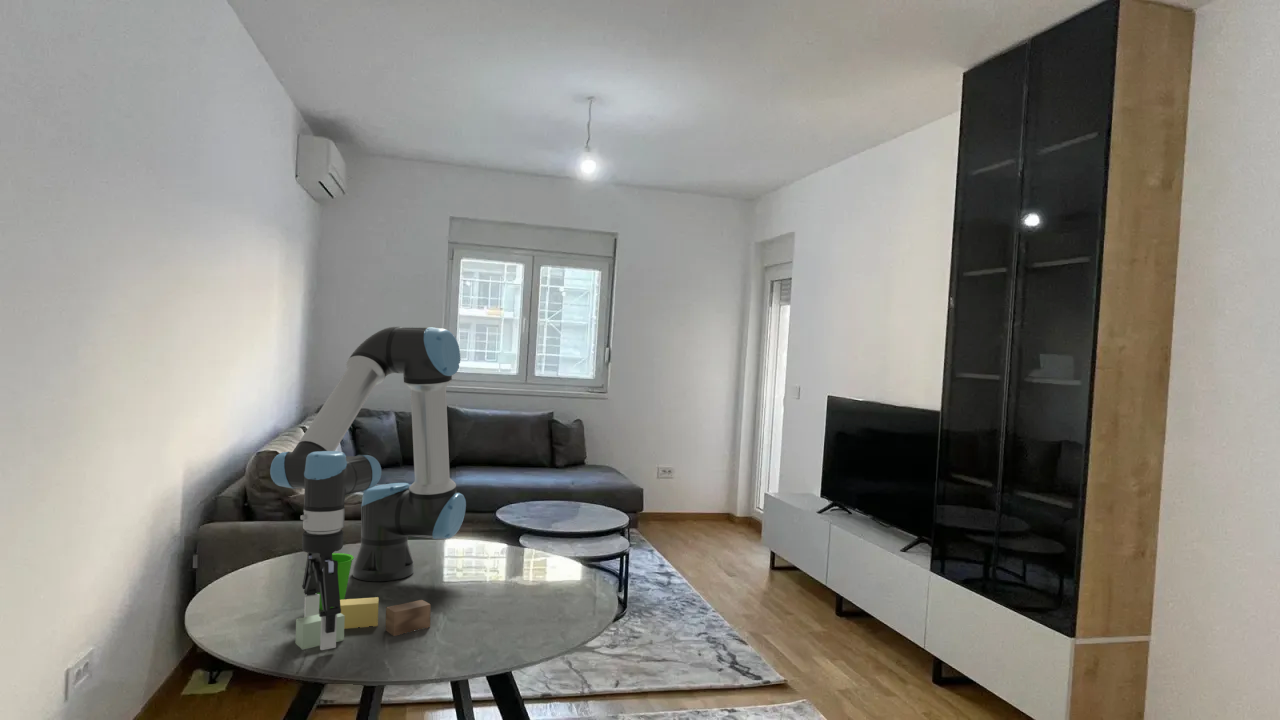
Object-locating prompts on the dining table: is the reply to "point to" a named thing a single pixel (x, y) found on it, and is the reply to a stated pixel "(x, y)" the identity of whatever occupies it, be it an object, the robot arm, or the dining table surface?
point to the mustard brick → (360, 612)
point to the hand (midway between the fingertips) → (319, 637)
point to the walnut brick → (407, 617)
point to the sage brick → (315, 630)
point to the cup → (341, 573)
